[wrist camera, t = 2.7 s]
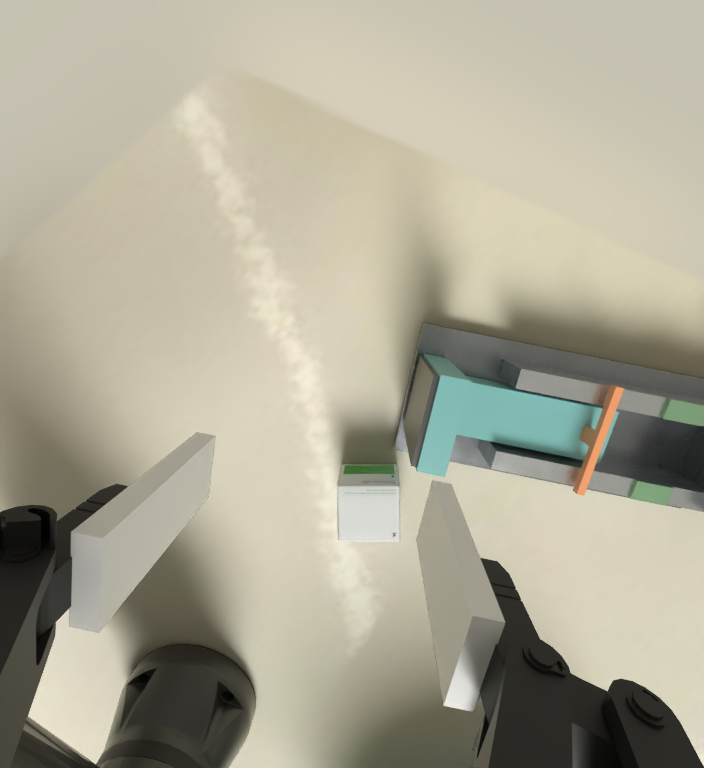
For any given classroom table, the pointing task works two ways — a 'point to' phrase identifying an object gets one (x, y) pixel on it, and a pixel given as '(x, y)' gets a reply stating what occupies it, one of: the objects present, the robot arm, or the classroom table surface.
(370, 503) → the small box
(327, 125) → the classroom table surface
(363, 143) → the classroom table surface
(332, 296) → the classroom table surface
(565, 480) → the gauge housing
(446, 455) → the plunger
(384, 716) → the classroom table surface
